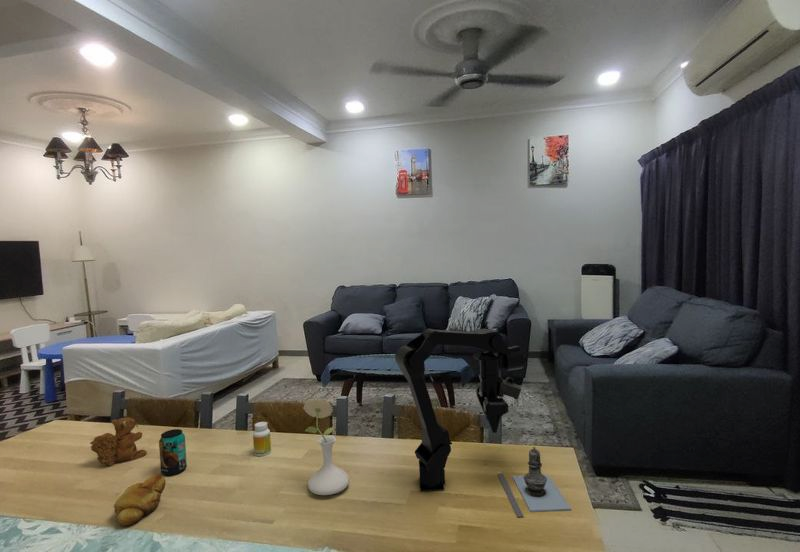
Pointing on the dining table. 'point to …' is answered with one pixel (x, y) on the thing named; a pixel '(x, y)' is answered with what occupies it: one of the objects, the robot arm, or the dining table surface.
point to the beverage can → (172, 452)
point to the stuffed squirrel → (118, 443)
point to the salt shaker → (535, 475)
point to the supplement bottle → (261, 439)
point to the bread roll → (139, 499)
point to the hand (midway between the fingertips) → (491, 425)
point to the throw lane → (535, 504)
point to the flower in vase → (325, 454)
